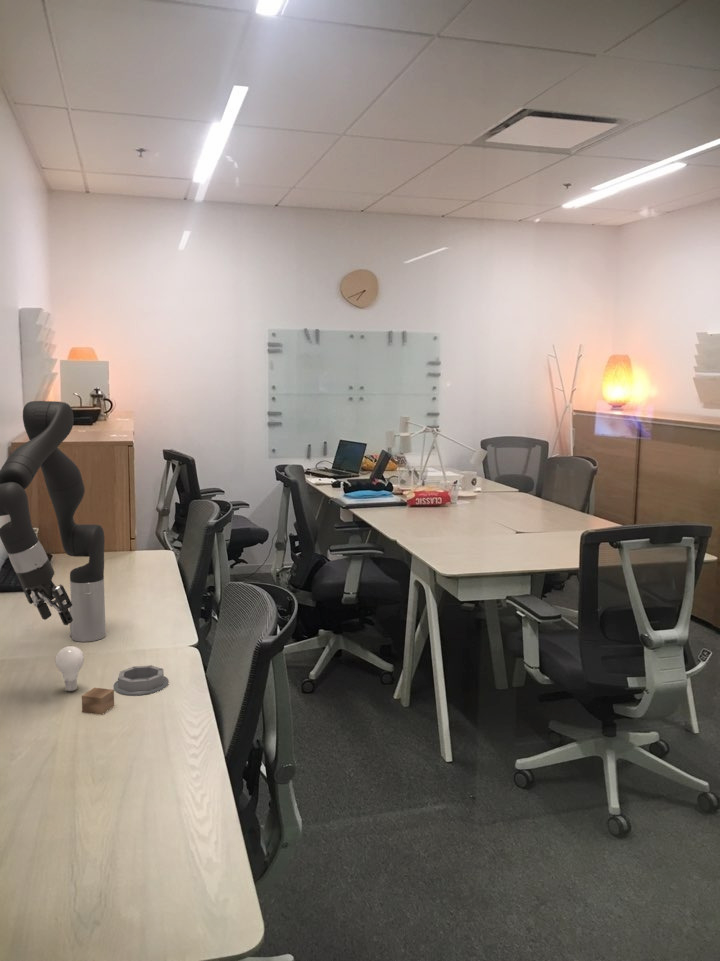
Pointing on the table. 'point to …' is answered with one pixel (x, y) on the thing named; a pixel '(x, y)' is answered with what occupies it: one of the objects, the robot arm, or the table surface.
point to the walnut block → (97, 701)
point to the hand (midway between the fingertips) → (58, 620)
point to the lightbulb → (70, 665)
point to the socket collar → (140, 680)
